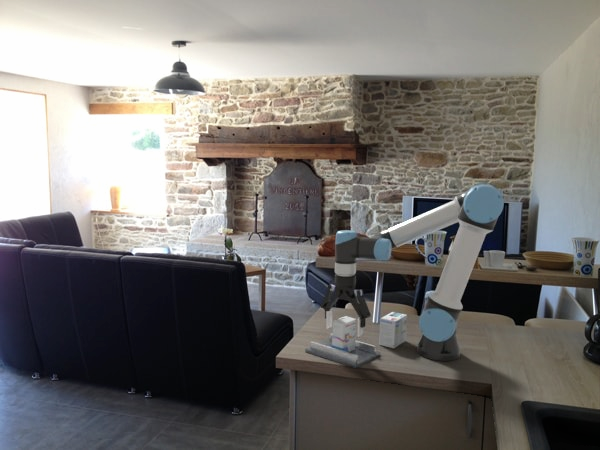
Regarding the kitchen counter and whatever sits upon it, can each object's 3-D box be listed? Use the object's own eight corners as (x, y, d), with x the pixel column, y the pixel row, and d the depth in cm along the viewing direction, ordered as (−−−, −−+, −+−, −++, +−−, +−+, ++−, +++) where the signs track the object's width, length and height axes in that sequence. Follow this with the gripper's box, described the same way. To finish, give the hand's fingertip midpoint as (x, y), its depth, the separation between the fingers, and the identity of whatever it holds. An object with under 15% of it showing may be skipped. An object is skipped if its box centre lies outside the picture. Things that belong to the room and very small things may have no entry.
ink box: (342, 356, 186) (343, 323, 184) (331, 352, 189) (332, 320, 187) (355, 349, 193) (357, 318, 191) (344, 346, 196) (345, 315, 194)
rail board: (380, 354, 190) (380, 345, 190) (355, 368, 178) (356, 358, 178) (331, 340, 204) (331, 331, 204) (305, 351, 192) (305, 342, 192)
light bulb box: (390, 337, 209) (391, 311, 208) (406, 341, 205) (407, 314, 204) (378, 345, 201) (379, 317, 199) (394, 349, 197) (395, 321, 195)
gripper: (381, 277, 182) (379, 336, 185) (323, 267, 198) (323, 322, 201) (369, 281, 177) (368, 342, 179) (311, 270, 192) (310, 326, 195)
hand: (344, 331), depth 190 cm, fingers open, 13 cm apart
